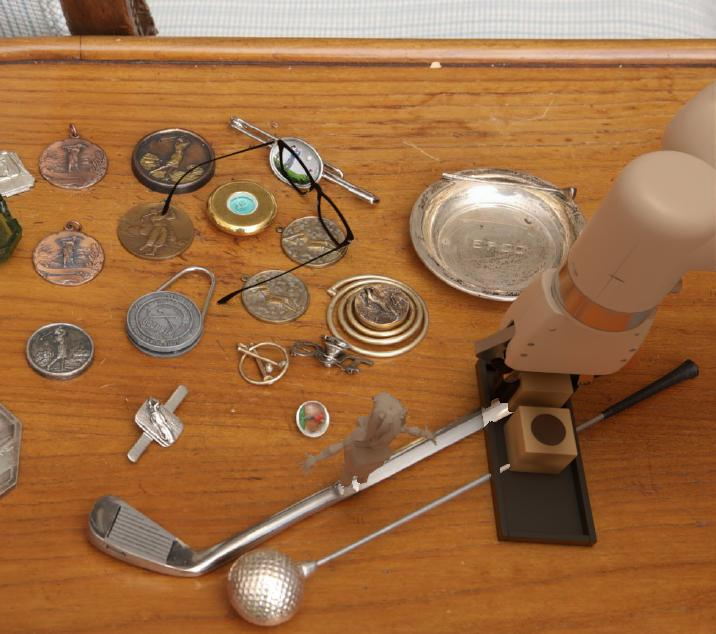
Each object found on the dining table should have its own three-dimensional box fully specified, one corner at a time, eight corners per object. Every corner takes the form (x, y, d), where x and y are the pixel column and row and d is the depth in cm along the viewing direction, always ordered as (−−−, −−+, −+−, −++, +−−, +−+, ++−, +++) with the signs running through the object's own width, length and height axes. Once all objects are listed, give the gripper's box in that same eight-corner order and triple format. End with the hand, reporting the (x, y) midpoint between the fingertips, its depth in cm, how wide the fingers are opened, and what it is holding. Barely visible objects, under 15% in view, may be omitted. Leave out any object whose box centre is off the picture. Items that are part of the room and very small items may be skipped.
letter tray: (557, 371, 90) (564, 362, 88) (589, 548, 81) (597, 542, 79) (473, 366, 90) (478, 357, 89) (495, 542, 81) (502, 536, 80)
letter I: (548, 372, 88) (566, 347, 84) (555, 414, 86) (574, 391, 82) (500, 369, 88) (516, 345, 84) (506, 411, 86) (523, 389, 82)
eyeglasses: (356, 260, 97) (363, 237, 93) (225, 317, 93) (228, 296, 90) (277, 154, 104) (281, 129, 101) (153, 203, 101) (153, 179, 97)
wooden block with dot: (551, 429, 86) (570, 407, 82) (558, 474, 84) (578, 454, 80) (502, 426, 86) (519, 404, 82) (509, 471, 84) (526, 450, 80)
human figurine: (402, 459, 85) (455, 367, 70) (417, 497, 83) (475, 410, 68) (278, 487, 84) (305, 399, 68) (290, 526, 82) (321, 445, 66)
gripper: (706, 251, 73) (611, 361, 89) (492, 240, 74) (435, 351, 89) (730, 332, 69) (626, 432, 85) (504, 320, 70) (442, 422, 85)
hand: (528, 390), depth 87 cm, fingers closed on letter I, 4 cm apart
